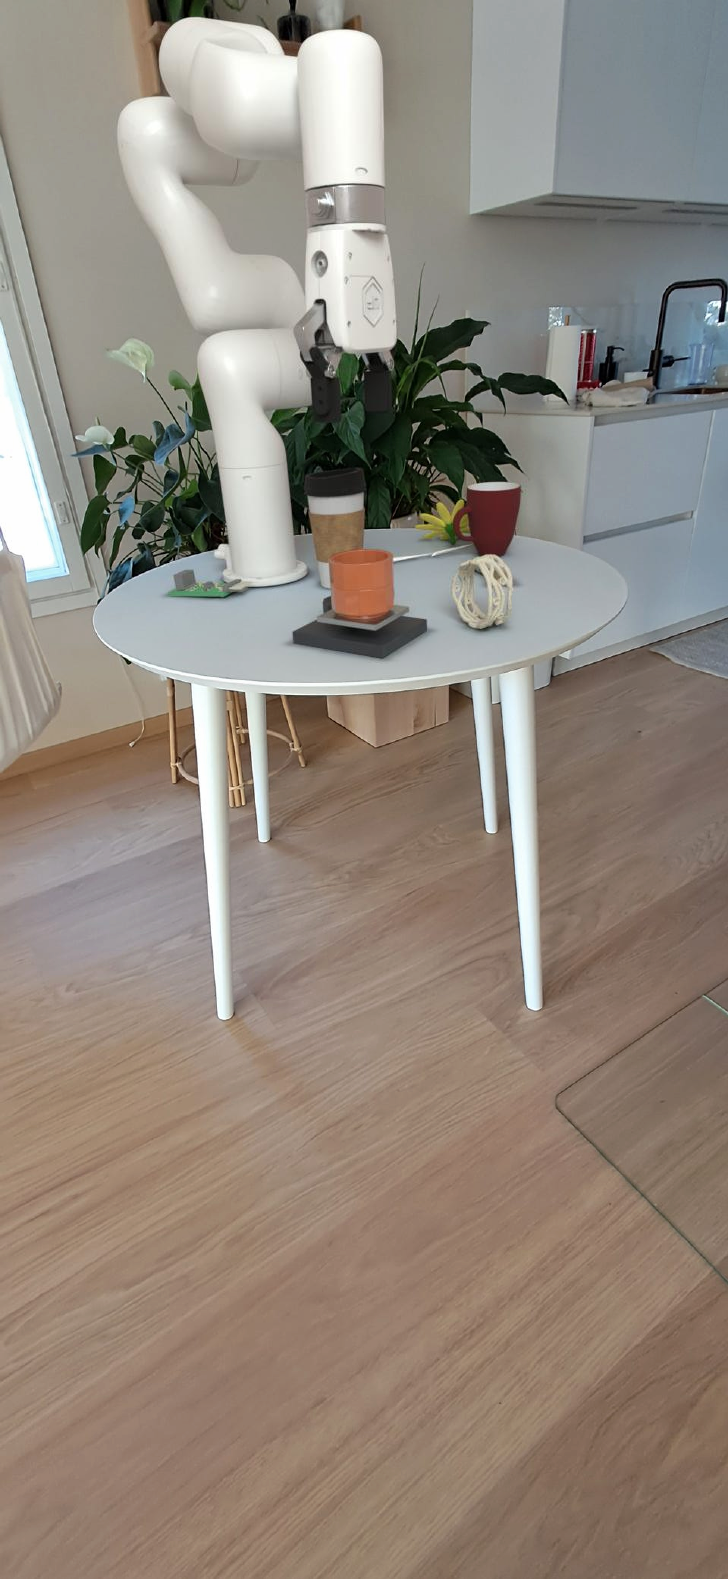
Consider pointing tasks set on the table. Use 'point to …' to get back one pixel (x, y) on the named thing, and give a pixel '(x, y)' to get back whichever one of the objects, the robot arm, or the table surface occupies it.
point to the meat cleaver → (493, 574)
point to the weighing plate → (369, 624)
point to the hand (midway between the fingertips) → (353, 417)
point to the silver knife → (427, 554)
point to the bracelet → (491, 582)
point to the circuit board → (203, 586)
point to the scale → (360, 635)
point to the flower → (444, 523)
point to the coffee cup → (335, 514)
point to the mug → (490, 516)
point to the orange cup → (362, 583)
